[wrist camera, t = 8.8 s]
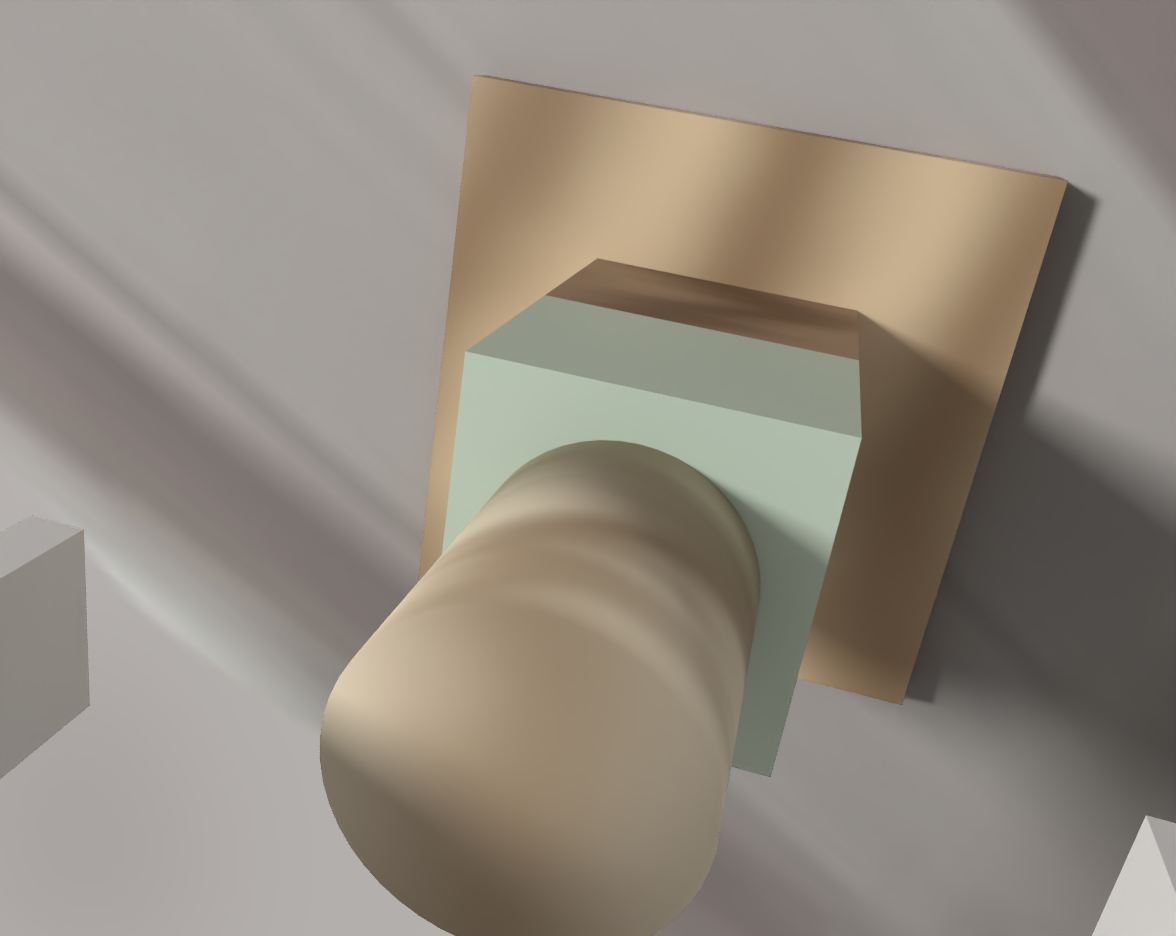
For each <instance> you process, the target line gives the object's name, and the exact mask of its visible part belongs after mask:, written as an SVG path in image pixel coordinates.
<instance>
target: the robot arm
mask: <svg viewBox="0 0 1176 936" xmlns="http://www.w3.org/2000/svg"><path fill="white" fill-rule="evenodd" d="M88 706H90V703H89V673H88V642H87V613H86V583H85V553H84V529H81V528H77V527H73V526H70V525H66V524H62V523H59V522H55V521H51V520H47V519H43V518H40V517H36V516H33V515H32V516H30V517H28V518H26V519H24V520H22V521H20V522H18V523H17V524H15V525H13V526H11V527H9V528H7V529H6V530H4V531H2V532H0V779H1V778H2V777H3V776H5V775H6V774H7V773H8V772H9V771H11V770H12V769H13V768H14V767H15V766H17V765H18V764H19V763H20V762H22V761H23V760H24V759H25V758H26V757H28V756H29V755H30V754H31V753H33V752H34V751H35V750H36V749H37V748H39V747H40V746H41V745H42V744H43V743H45V742H46V741H47V740H48V739H49V738H51V737H52V736H53V735H54V734H56V733H57V732H58V731H59V730H60V729H62V728H63V727H64V726H65V725H67V724H68V723H69V722H70V721H71V720H73V719H74V718H75V717H76V716H78V715H79V714H80V713H81V712H82V711H84V710H85V709H86V708H87V707H88ZM1092 936H1176V823H1173V822H1169V821H1165V820H1162V819H1158V818H1154V817H1151V816H1147V815H1146V817H1145V819H1144V821H1143V823H1142V826H1141V828H1140V830H1139V832H1138V834H1137V837H1136V839H1135V841H1134V843H1133V846H1132V848H1131V850H1130V852H1129V855H1128V857H1127V859H1126V861H1125V863H1124V866H1123V868H1122V870H1121V872H1120V875H1119V877H1118V879H1117V881H1116V884H1115V886H1114V888H1113V890H1112V892H1111V895H1110V897H1109V899H1108V901H1107V904H1106V906H1105V908H1104V910H1103V913H1102V915H1101V917H1100V919H1099V921H1098V924H1097V926H1096V928H1095V930H1094V933H1093V935H1092Z"/></svg>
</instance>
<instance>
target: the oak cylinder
mask: <svg viewBox="0 0 1176 936" xmlns="http://www.w3.org/2000/svg"><path fill="white" fill-rule="evenodd" d="M759 601H760V571H759V563H758V559H757V555H756V551H755V548H754V544H753V542H752V539H751V537H750V534H749V532H748V530H747V527H746V525H745V524H744V522H743V520H742V519H741V517H740V515H739V514H738V512H737V510H736V509H735V508H734V506H733V505H732V504H731V502H730V501H729V500H728V499H727V497H726V496H725V495H724V494H723V493H722V492H721V491H720V490H719V489H718V488H717V487H716V486H715V485H714V484H713V483H712V482H711V481H710V480H709V479H708V478H706V477H705V476H704V475H702V474H701V473H700V472H699V471H697V470H696V469H695V468H693V467H691V466H690V465H688V464H686V463H685V462H683V461H681V460H680V459H678V458H676V457H674V456H671V455H669V454H667V453H664V452H662V451H660V450H657V449H654V448H651V447H647V446H644V445H640V444H636V443H630V442H624V441H612V440H595V441H584V442H577V443H573V444H568V445H564V446H561V447H558V448H555V449H553V450H550V451H547V452H545V453H543V454H541V455H539V456H537V457H536V458H534V459H532V460H530V461H528V462H527V463H526V464H524V465H523V466H522V467H520V468H519V469H518V470H516V471H515V472H514V473H513V474H512V475H511V476H510V477H509V478H508V479H507V480H506V481H505V482H504V483H503V484H502V485H501V486H500V488H499V489H498V490H497V491H496V492H495V493H494V495H493V496H492V497H491V498H490V499H489V500H488V502H487V503H486V504H485V505H484V506H483V507H482V509H481V510H480V511H479V512H478V513H477V514H476V516H475V517H474V518H473V519H472V520H471V521H470V522H469V524H468V525H467V526H466V527H465V528H464V529H463V531H462V532H461V533H460V534H459V535H458V536H457V538H456V539H455V540H454V541H453V542H452V543H451V545H450V546H449V547H448V548H447V549H446V550H445V552H444V553H443V554H442V555H441V556H440V557H439V559H438V560H437V561H436V562H435V563H434V564H433V566H432V567H431V568H430V569H429V570H428V571H427V573H426V574H425V575H424V576H423V577H422V578H421V580H420V581H419V582H418V583H417V584H416V585H415V587H414V588H413V589H412V590H411V591H410V592H409V594H408V595H407V596H406V597H405V598H404V599H403V601H402V602H401V603H400V604H399V605H398V606H397V608H396V609H395V610H394V611H393V612H392V613H391V615H390V616H389V617H388V618H387V619H386V620H385V622H384V623H383V624H382V625H381V626H380V627H379V628H378V630H377V631H376V632H375V633H374V634H373V635H372V637H371V638H370V639H369V640H368V641H367V642H366V644H365V645H364V646H363V647H362V648H361V649H360V651H359V652H358V653H357V654H356V655H355V656H354V658H353V659H352V660H351V662H350V663H349V664H348V666H347V667H346V668H345V670H344V671H343V672H342V674H341V675H340V677H339V679H338V681H337V682H336V684H335V686H334V688H333V690H332V692H331V694H330V697H329V700H328V703H327V706H326V709H325V712H324V716H323V721H322V728H321V735H320V763H321V770H322V777H323V783H324V787H325V790H326V794H327V797H328V801H329V804H330V806H331V809H332V811H333V814H334V816H335V818H336V821H337V823H338V825H339V827H340V829H341V831H342V833H343V834H344V836H345V838H346V840H347V841H348V843H349V845H350V846H351V848H352V849H353V851H354V852H355V853H356V855H357V856H358V858H359V859H360V860H361V862H362V863H363V865H364V866H365V867H366V868H367V869H368V870H369V871H370V873H371V874H372V875H373V876H374V877H375V878H376V879H377V880H378V881H379V883H380V884H381V885H382V886H384V887H385V888H386V889H387V890H388V891H389V892H390V893H391V894H392V895H393V896H395V897H396V898H397V899H398V900H399V901H400V902H402V903H403V904H404V905H406V906H407V907H408V908H410V909H411V910H412V911H414V912H415V913H416V914H418V915H419V916H421V917H422V918H424V919H426V920H427V921H429V922H431V923H432V924H434V925H435V926H437V927H439V928H440V929H442V930H445V931H447V932H449V933H451V934H453V935H455V936H652V935H653V934H655V933H656V932H658V931H659V930H661V929H662V928H664V927H665V926H667V925H668V924H669V923H671V922H672V921H673V920H674V919H675V918H676V917H677V916H678V915H679V914H680V913H681V912H683V911H684V910H685V909H686V907H687V906H688V905H689V904H690V902H691V901H692V900H693V898H694V897H695V896H696V895H697V893H698V892H699V890H700V888H701V887H702V885H703V883H704V881H705V879H706V878H707V876H708V874H709V872H710V869H711V866H712V863H713V860H714V857H715V854H716V852H717V846H718V840H719V834H720V828H721V823H722V817H723V811H724V805H725V799H726V793H727V788H728V782H729V776H730V770H731V764H732V758H733V753H734V747H735V741H736V735H737V729H738V723H739V718H740V712H741V706H742V700H743V694H744V688H745V683H746V677H747V671H748V665H749V659H750V654H751V648H752V642H753V636H754V630H755V624H756V619H757V613H758V607H759Z"/></svg>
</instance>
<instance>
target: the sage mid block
mask: <svg viewBox="0 0 1176 936" xmlns="http://www.w3.org/2000/svg"><path fill="white" fill-rule="evenodd" d="M861 439H862V432H861V404H860V376H859V360H855V359H850V358H845V357H840V356H836V355H831V354H826V353H821V352H816V351H811V350H807V349H802V348H797V347H792V346H787V345H783V344H778V343H773V342H768V341H763V340H759V339H754V338H749V337H744V336H739V335H734V334H730V333H725V332H720V331H715V330H710V329H706V328H701V327H696V326H691V325H686V324H681V323H677V322H672V321H667V320H662V319H657V318H653V317H648V316H643V315H638V314H633V313H628V312H624V311H619V310H614V309H609V308H604V307H600V306H595V305H590V304H585V303H580V302H576V301H571V300H566V299H561V298H556V297H551V296H547V295H544V296H543V297H542V298H540V299H539V300H537V301H536V302H535V303H533V304H532V305H530V306H529V307H527V308H526V309H525V310H523V311H522V312H520V313H519V314H518V315H516V316H515V317H513V318H512V319H510V320H509V321H508V322H506V323H505V324H503V325H502V326H500V327H499V328H498V329H496V330H495V331H493V332H492V333H491V334H489V335H488V336H486V337H485V338H483V339H482V340H481V341H479V342H478V343H476V344H475V345H474V346H472V347H471V348H469V349H468V350H466V351H465V358H464V366H463V375H462V384H461V392H460V401H459V410H458V418H457V427H456V436H455V444H454V453H453V462H452V470H451V479H450V488H449V496H448V505H447V514H446V522H445V531H444V540H443V549H442V554H443V553H444V552H445V550H446V549H447V548H448V547H449V546H450V545H451V543H452V542H453V541H454V540H455V539H456V538H457V536H458V535H459V534H460V533H461V532H462V531H463V529H464V528H465V527H466V526H467V525H468V524H469V522H470V521H471V520H472V519H473V518H474V517H475V516H476V514H477V513H478V512H479V511H480V510H481V509H482V507H483V506H484V505H485V504H486V503H487V502H488V500H489V499H490V498H491V497H492V496H493V495H494V493H495V492H496V491H497V490H498V489H499V488H500V486H501V485H502V484H503V483H504V482H505V481H506V480H507V479H508V478H509V477H510V476H511V475H512V474H513V473H514V472H515V471H516V470H518V469H519V468H520V467H522V466H523V465H524V464H526V463H527V462H528V461H530V460H532V459H534V458H536V457H537V456H539V455H541V454H543V453H545V452H547V451H550V450H553V449H555V448H558V447H561V446H564V445H568V444H573V443H577V442H584V441H595V440H612V441H624V442H630V443H636V444H640V445H644V446H647V447H651V448H654V449H657V450H660V451H662V452H664V453H667V454H669V455H671V456H674V457H676V458H678V459H680V460H681V461H683V462H685V463H686V464H688V465H690V466H691V467H693V468H695V469H696V470H697V471H699V472H700V473H701V474H702V475H704V476H705V477H706V478H708V479H709V480H710V481H711V482H712V483H713V484H714V485H715V486H716V487H717V488H718V489H719V490H720V491H721V492H722V493H723V494H724V495H725V496H726V497H727V499H728V500H729V501H730V502H731V504H732V505H733V506H734V508H735V509H736V510H737V512H738V514H739V515H740V517H741V519H742V520H743V522H744V524H745V525H746V527H747V530H748V532H749V534H750V537H751V539H752V542H753V544H754V548H755V551H756V555H757V559H758V563H759V571H760V601H759V607H758V613H757V619H756V624H755V630H754V636H753V642H752V648H751V654H750V659H749V665H748V671H747V677H746V683H745V688H744V694H743V700H742V706H741V712H740V718H739V723H738V729H737V735H736V741H735V747H734V753H733V758H732V764H731V767H735V768H738V769H742V770H746V771H750V772H753V773H757V774H761V775H764V776H768V777H771V774H772V770H773V766H774V763H775V759H776V755H777V752H778V748H779V744H780V740H781V737H782V733H783V729H784V725H785V722H786V718H787V714H788V711H789V707H790V703H791V699H792V696H793V692H794V688H795V685H796V681H797V677H798V673H799V670H800V666H801V662H802V658H803V655H804V651H805V647H806V644H807V640H808V636H809V632H810V629H811V625H812V621H813V618H814V614H815V610H816V606H817V603H818V599H819V595H820V592H821V588H822V584H823V580H824V577H825V573H826V569H827V565H828V562H829V558H830V554H831V551H832V547H833V543H834V539H835V536H836V532H837V528H838V525H839V521H840V517H841V513H842V510H843V506H844V502H845V498H846V495H847V491H848V487H849V484H850V480H851V476H852V472H853V469H854V465H855V461H856V458H857V454H858V450H859V446H860V443H861Z"/></svg>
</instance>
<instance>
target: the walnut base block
mask: <svg viewBox="0 0 1176 936" xmlns="http://www.w3.org/2000/svg"><path fill="white" fill-rule="evenodd" d="M546 295H547V296H551V297H556V298H561V299H566V300H571V301H576V302H580V303H585V304H590V305H595V306H600V307H604V308H609V309H614V310H619V311H624V312H628V313H633V314H638V315H643V316H648V317H653V318H657V319H662V320H667V321H672V322H677V323H681V324H686V325H691V326H696V327H701V328H706V329H710V330H715V331H720V332H725V333H730V334H734V335H739V336H744V337H749V338H754V339H759V340H763V341H768V342H773V343H778V344H783V345H787V346H792V347H797V348H802V349H807V350H811V351H816V352H821V353H826V354H831V355H836V356H840V357H845V358H850V359H855V360H859V345H858V318H857V310H852V309H847V308H842V307H837V306H832V305H827V304H822V303H817V302H812V301H807V300H802V299H798V298H793V297H788V296H783V295H778V294H773V293H768V292H763V291H758V290H753V289H748V288H743V287H738V286H733V285H728V284H723V283H718V282H713V281H708V280H703V279H698V278H693V277H688V276H683V275H678V274H673V273H668V272H663V271H658V270H653V269H649V268H644V267H639V266H634V265H629V264H624V263H619V262H614V261H609V260H604V259H599V258H597V259H596V260H594V261H593V262H591V263H590V264H588V265H587V266H586V267H584V268H583V269H581V270H580V271H579V272H577V273H576V274H574V275H573V276H571V277H570V278H569V279H567V280H566V281H564V282H563V283H562V284H560V285H559V286H557V287H556V288H554V289H553V290H552V291H550V292H549V293H547V294H546Z"/></svg>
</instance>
